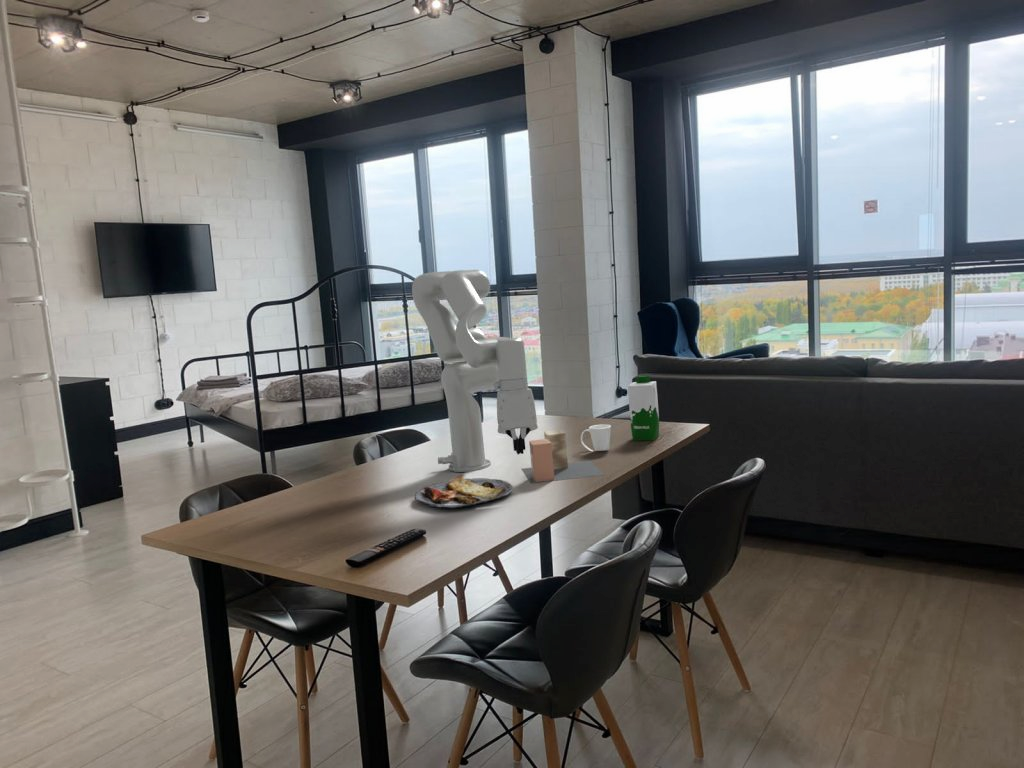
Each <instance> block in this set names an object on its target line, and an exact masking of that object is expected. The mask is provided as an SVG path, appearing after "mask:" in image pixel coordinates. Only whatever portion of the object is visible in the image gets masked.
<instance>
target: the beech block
mask: <svg viewBox="0 0 1024 768" xmlns="http://www.w3.org/2000/svg"><path fill="white" fill-rule="evenodd" d="M543 436H544V439H548V440H549V441H550V442H551V445H552V457H553V469H554V470H557V469H565V468H568V463H569V461H568V451H567V450H568V449H567V439H566V432H565V431H564V430H563V429H554V430H553V429H552V430H545V431H543Z"/></svg>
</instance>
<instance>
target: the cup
mask: <svg viewBox="0 0 1024 768" xmlns="http://www.w3.org/2000/svg"><path fill="white" fill-rule="evenodd" d="M611 429H612V425H611V424H595V425H591V426H589V427H588V429H585V430H583V431H582V432H581V434H580V443H581V445H582V446H583V447H584V448H585V449H586V450H587V451H589V452H594V451H597V452H602V451H607V450H609V449H610V443H611ZM585 432H589V434H590V438H591V439H590V440H591V442H592V446H593V449H594V450H593V449H591V448H589V447H588V446H587V445H586V444H585V443H584V441H583V438H584V436H583V435H584V434H585Z"/></svg>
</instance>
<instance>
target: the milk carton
mask: <svg viewBox="0 0 1024 768" xmlns="http://www.w3.org/2000/svg"><path fill="white" fill-rule="evenodd" d="M627 392H628V393H627V395H628V407H629V421H630V431H631V437H632V441H655V440H657V438H658V437H659V436H660V414H659V402H658V399H659V398H658V389H657V381H656V380H655V381H652V380H651V381H650V374H649V375H647V374H643V375H637V376H636V381H635V382H634V381H633V382H632V383H629V384H628V385H627Z"/></svg>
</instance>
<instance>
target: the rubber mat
mask: <svg viewBox="0 0 1024 768" xmlns="http://www.w3.org/2000/svg"><path fill="white" fill-rule="evenodd" d="M521 470H522V472H523V473H524V476H525V477H526V478H527V480H528V482H529V483H530V484H531V485H532V484H541V483H549V482H556V481H564V480H565V481H566V480H572V479H581V478H590V477H591V478H592V477H598V476H605V475H606V474H605V473H604V472H602V470H601V469H599V468H598V467H597V466H596V465H595V464H594V463H593V462H592V461H591V460H585V461H584V460H582V461H574V462H568V468H565V469H557V470H554V480H549V481H541V482H536V481H535V480H534V478H533V477H532V467H531V466H530V467H524V468H521Z"/></svg>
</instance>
